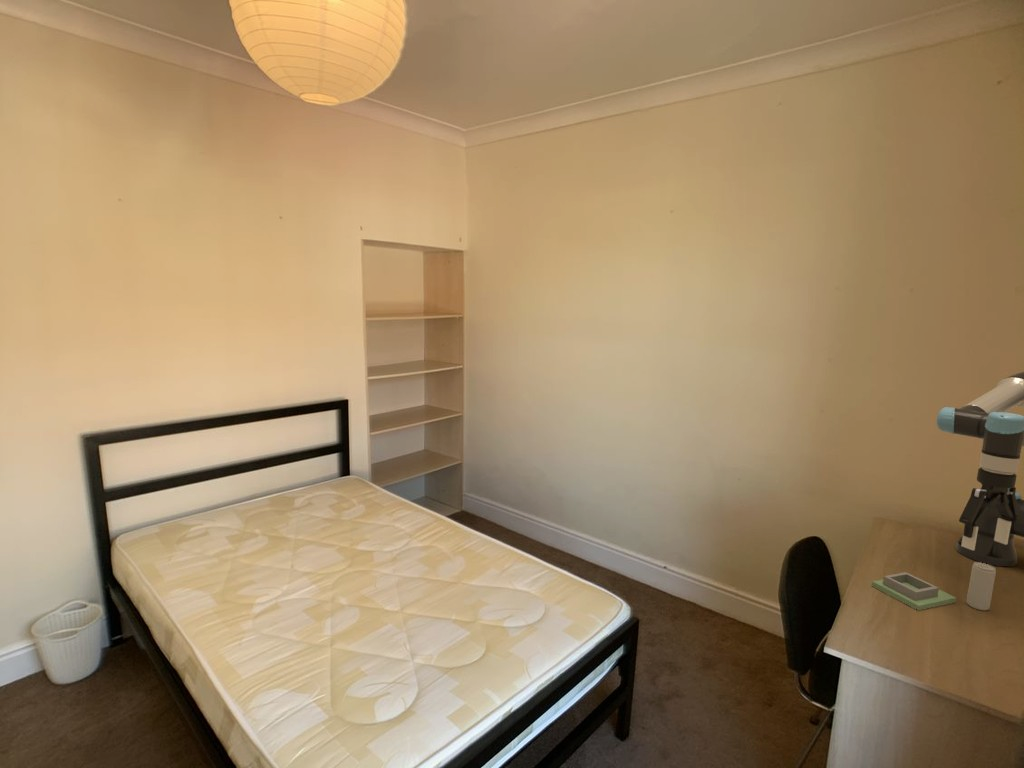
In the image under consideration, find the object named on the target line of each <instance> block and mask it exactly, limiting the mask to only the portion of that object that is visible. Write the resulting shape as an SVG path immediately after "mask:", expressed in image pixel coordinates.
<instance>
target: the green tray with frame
mask: <svg viewBox="0 0 1024 768" xmlns="http://www.w3.org/2000/svg"><path fill="white" fill-rule="evenodd" d="M871 583H872V584H871V587H873V588H875V589H877V590H879V591H880V592H882V593H883V594H886V595H888V596H890V597H891V598H893V599H896V600H897V601H899V602H901V601H902V602H901V603H903V602H904V603H905V605H906V604H907V605H906V606H908V605H909V606H908V607H910V606H911V607H910V608H912V607H913V608H912V609H914V608H915V609H914V610H916V609H917V610H916V611H918V610H920V611H923V610H922V609H924V610H928V609H927V608H929V609H932V608H931V607H933V608H936V607H937V606H938V607H942V606H947V605H950V604H951V605H952V604H955V603H956V602H957V597H956V596H954V595H951V594H949V593H948V592H945V591H944V590H942V589H940V587H938V586H935V585H934V584H932V583H930V582H927V581H925V580H923V579H921V578H919V577H917V576H915V575H913V574H911V573H908V572H907V571H905V572H900V573H893V574H887V575H883V579H878V580H873V581H871ZM904 603H903V604H904Z"/></svg>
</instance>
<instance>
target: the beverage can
mask: <svg viewBox="0 0 1024 768" xmlns="http://www.w3.org/2000/svg"><path fill="white" fill-rule="evenodd" d="M971 566H972V567H971V572H970V577H969V578H970V579H969V585H968V589H967V593H966V594H967V596H966V604H967V605H968V606H970V607H972V608H973V609H976V610H979V611H988V610H989V609H990V607H991V602H992V598H993V597H992V596H993V595H992V594H993V591H994V584H995V581H996V580H995V579H996V574H997V570H996V569H997V568H996V567H995V566H994V565H990V564H986V563H982V562H979V561H974V562H973V564H972V565H971Z"/></svg>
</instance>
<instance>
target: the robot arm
mask: <svg viewBox="0 0 1024 768" xmlns="http://www.w3.org/2000/svg"><path fill="white" fill-rule="evenodd" d="M1022 406H1024V371H1021V372H1018V373H1015V374H1012V375H1010V376H1007V377H1005V378H1003V379H1001V380H1000V381H998V382H997V384H996V386H995V387H994V388H992V389H991V390H990V391H987V392H986V393H984V394H982V395H980V396H979V397H977V398H975V399H974V400H972V401H970V402H969V403H967V404H965V405H963V406H961V407H959V408H957V407H954V406H953V407H950V406H949V407H946V406H945V407H942V408H941V410H939V412H938V414H937V417H936V426H937V428H938V429H939V430H940V431H942V432H946V433H950V434H952V435H959V436H965V437H970V438H977V439H983V440H982V447H981V450H980V451H981V453H980V454H979V457H980V460H979V468H978V469H977V475H976V481H977V482H978V483H980V484H981V487H980V488H976V487H973V488H972V490H971V494H970V496H969V499H968V500H967V502H966V504H965V507H964V508H963V511H962V513H961V515H960V517H959V519H958V522H959V523H961V524H963V525H964V527H963V533H962V535H960V537H959V538H958V540H957V541H956V542H957V543H956V548H955V550H956V551H957V552H958V553H959V554H960V555H962V556H964V557H967V558H969V559H970V560H973V561H975V562H981V563H982V562H983V563H985V564H986V563H987V564H989V565H991V566H994V567H995V566H996V567H1003V566H1012V567H1014V566H1013V565H1015V564H1016V565H1017V563H1018V556H1017V551H1016V546H1015V543H1014V537H1015V536H1018V537H1021V538H1024V499H1022V498H1023V497H1022V495H1021V493H1019V492H1017V490H1016V489H1017V488H1016V487H1015V486H1016V481H1017V477H1018V476H1017V474H1016V473H1019V472H1018V471H1019V466H1020V458H1021V453H1022V447H1024V415H1022V414H1018V413H1012V412H1010V411H1011V410H1013V409H1014V408H1016V407H1022ZM1016 565H1015V566H1016Z"/></svg>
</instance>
